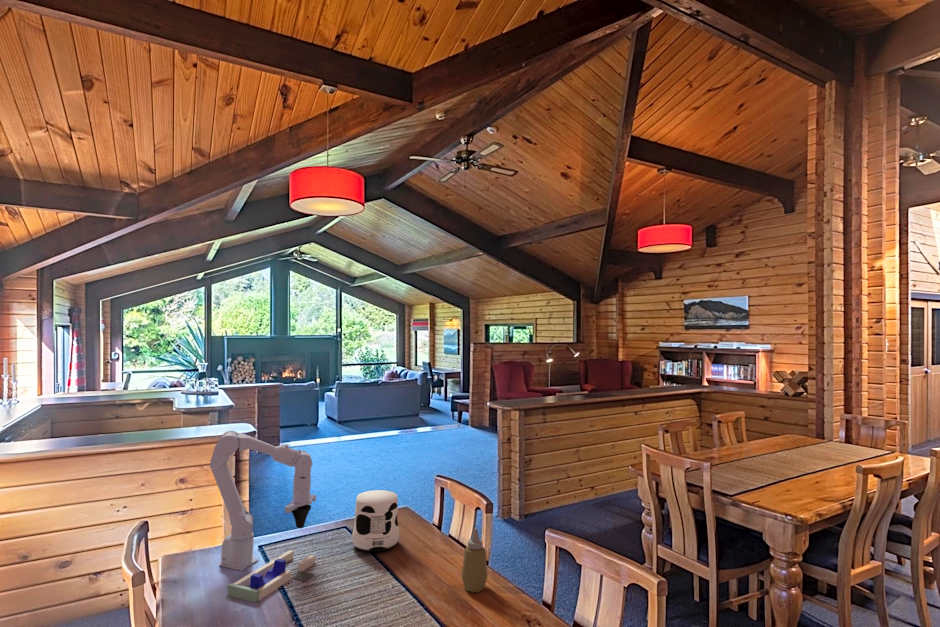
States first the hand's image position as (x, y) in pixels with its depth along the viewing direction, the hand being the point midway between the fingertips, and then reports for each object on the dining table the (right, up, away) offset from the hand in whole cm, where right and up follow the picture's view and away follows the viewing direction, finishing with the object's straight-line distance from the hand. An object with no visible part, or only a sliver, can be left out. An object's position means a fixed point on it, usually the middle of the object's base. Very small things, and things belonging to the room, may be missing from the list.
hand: (300, 527), depth 171 cm
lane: (-2, -9, -16) cm, 18 cm away
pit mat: (+6, -9, -15) cm, 19 cm away
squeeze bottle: (+61, -11, -19) cm, 65 cm away
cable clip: (-3, -9, -22) cm, 24 cm away
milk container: (+24, -11, +10) cm, 29 cm away
